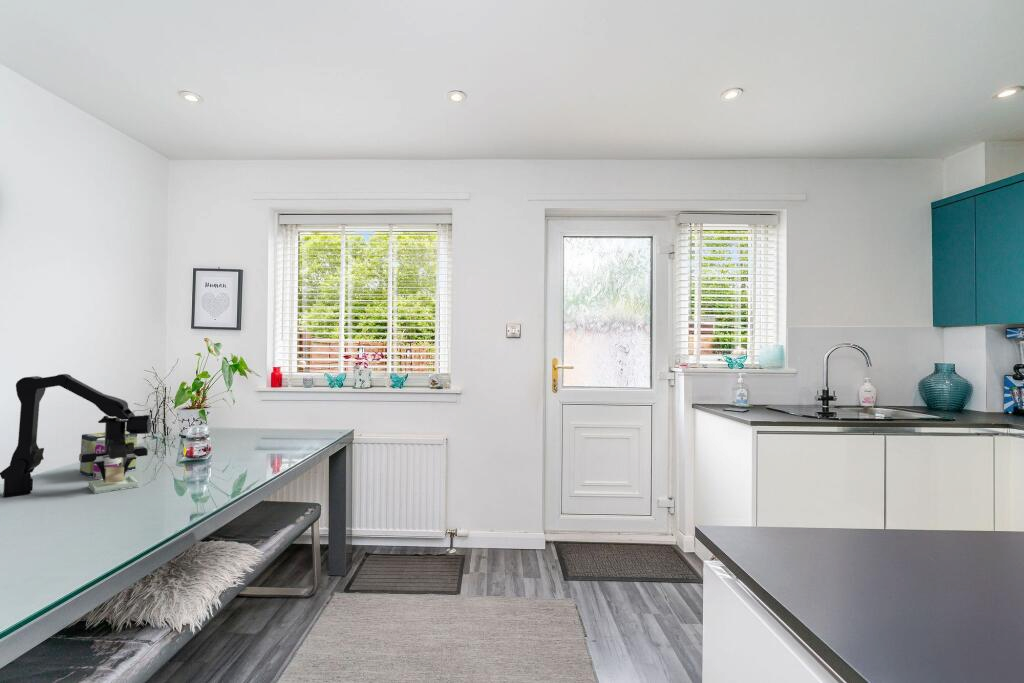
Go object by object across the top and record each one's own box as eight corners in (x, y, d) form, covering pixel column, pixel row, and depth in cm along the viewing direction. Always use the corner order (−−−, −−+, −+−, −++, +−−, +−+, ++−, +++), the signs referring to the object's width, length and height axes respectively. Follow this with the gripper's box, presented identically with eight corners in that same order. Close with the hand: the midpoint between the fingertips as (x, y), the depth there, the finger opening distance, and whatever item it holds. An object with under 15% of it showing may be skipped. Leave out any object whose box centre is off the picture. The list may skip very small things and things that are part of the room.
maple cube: (105, 483, 174) (106, 469, 174) (103, 481, 177) (103, 467, 177) (123, 481, 177) (124, 467, 177) (120, 478, 181) (121, 464, 181)
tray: (94, 493, 169) (94, 488, 169) (88, 486, 177) (88, 481, 177) (137, 487, 178) (137, 481, 178) (130, 481, 186) (130, 475, 186)
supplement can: (108, 480, 186) (110, 440, 186) (87, 479, 186) (89, 440, 186) (126, 475, 194) (127, 437, 194) (105, 474, 194) (107, 436, 194)
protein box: (136, 470, 203) (138, 432, 203) (88, 477, 189) (90, 437, 190) (125, 466, 208) (127, 429, 208) (78, 473, 195) (80, 434, 195)
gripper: (84, 440, 165) (82, 487, 165) (152, 434, 179) (150, 477, 179) (79, 436, 173) (77, 481, 172) (144, 431, 187) (143, 472, 186)
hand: (113, 478), depth 177 cm, fingers closed on maple cube, 5 cm apart
